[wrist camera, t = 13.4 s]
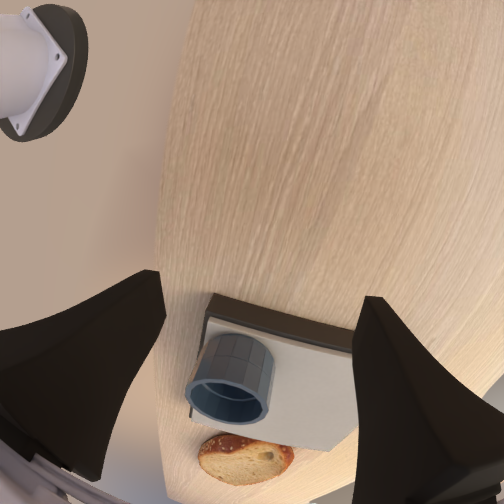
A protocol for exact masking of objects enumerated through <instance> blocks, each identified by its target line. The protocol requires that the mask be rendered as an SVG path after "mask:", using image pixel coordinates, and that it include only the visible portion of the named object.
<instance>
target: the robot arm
mask: <svg viewBox="0 0 504 504" xmlns="http://www.w3.org/2000/svg"><path fill="white" fill-rule="evenodd" d="M59 55H60V56H59ZM58 57H59V59H58ZM67 60H68V57H67V55H66V54H65V52H64V51H63V50H62V49H61V47H60V46H59V45H58V43H57V42H56V41H55V39H54V38H53V37H52V35H51V34H50V33H49V31H48V30H47V29H46V27H45V26H44V25H43V23H42V22H41V21H40V19H39V18H38V17H37V15H36V14H35V12H34V11H33V10H32V8H31V7H25V8H24V9H23V11H22V12H21V14H20V15H10V14H0V119H2V118H6V117H8V118H9V120H10V122H11V124H12V125H13V127H14V129H15V130H16V132H17V134H18V135H19V136H22V135H24V134H25V132H26V130H27V128H28V126H29V124H30V122H31V121H32V119H33V117H34V115H35V113H36V111H37V109H38V108H39V106H40V104H41V102H42V101H43V99H44V97H45V96H46V94H47V92H48V91H49V89H50V87H51V86H52V84H53V83H54V81H55V80H56V78H57V77H58V75H59V74H60V72H61V71H62V69H63V68H64V66H65V65H66V63H67ZM166 316H167V315H166V310H165V304H164V298H163V292H162V286H161V280H160V273H159V272H158V271H152V270H143V271H140V272H138V273H136V274H134V275H132V276H130V277H128V278H126V279H125V280H123V281H121V282H119V283H117V284H115V285H114V286H112V287H110V288H108V289H106V290H104V291H103V292H101V293H99V294H97V295H95V296H93V297H91V298H89V299H87V300H85V301H83V302H81V303H80V304H78V305H76V306H73V307H71V308H69V309H67V310H65V311H63V312H60V313H57V314H55V315H52V316H50V317H47V318H44V319H41V320H38V321H35V322H32V323H29V324H26V325H22V326H19V327H15V328H10V329H6V330H1V331H0V504H71V503H70V502H69V501H68V498H67V495H66V493H67V494H69V495H71V496H72V497H74V498H76V499H77V500H79V501H81V502H83V503H85V504H130V503H128V502H125V501H123V500H121V499H118V498H116V497H114V496H112V495H109V494H107V493H105V492H103V491H101V490H99V489H97V488H95V487H93V486H91V485H89V484H87V483H85V482H83V481H81V480H80V479H78V478H76V477H74V476H72V475H71V474H69V473H67V472H65V471H64V470H62V469H61V468H64V469H66V470H68V471H69V472H74V473H76V474H77V475H79V476H81V477H83V478H85V479H87V480H89V481H91V482H95V481H98V480H100V479H101V474H102V469H103V464H104V459H105V455H106V451H107V447H108V444H109V440H110V437H111V433H112V430H113V427H114V424H115V422H116V419H117V416H118V413H119V410H120V408H121V405H122V403H123V401H124V398H125V396H126V393H127V391H128V389H129V387H130V385H131V383H132V381H133V379H134V378H135V376H136V374H137V373H138V371H139V369H140V367H141V366H142V364H143V362H144V361H145V359H146V357H147V355H148V354H149V352H150V350H151V348H152V347H153V345H154V343H155V342H156V340H157V338H158V336H159V333H160V331H161V329H162V326H163V324H164V321H165V319H166ZM352 368H353V376H354V384H355V392H356V401H357V410H358V422H359V439H358V457H357V469H356V478H355V486H354V493H353V500H352V504H504V499H502V500H500V501H498V502H497V501H496V495H497V494H499V493H500V492H501V485H500V482H501V481H503V480H504V414H503V413H502V412H500V411H498V410H497V409H496V408H494V407H493V406H491V405H490V404H488V403H486V402H485V401H484V400H482V399H481V398H480V397H478V396H477V395H475V394H474V393H473V392H472V391H470V390H469V389H468V388H467V387H465V386H464V385H463V384H462V383H461V382H459V381H458V380H457V379H456V378H455V377H454V376H453V375H452V374H450V373H449V372H448V371H447V370H446V369H445V368H444V367H443V366H442V365H441V364H440V363H439V362H438V361H437V360H436V359H435V358H434V357H433V356H432V355H431V354H430V353H429V352H428V350H427V349H426V348H425V347H424V346H423V345H422V344H421V343H420V342H419V340H418V339H417V338H416V337H415V336H414V335H413V333H412V332H411V331H410V330H409V329H408V327H407V326H406V325H405V324H404V323H403V321H402V320H401V319H400V318H399V316H398V315H397V314H396V313H395V312H394V310H393V309H392V308H391V307H390V305H389V304H388V303H387V302H386V301H385V300H384V299H383V297H375V296H365V299H364V303H363V306H362V309H361V313H360V316H359V319H358V323H357V326H356V329H355V332H354V335H353V338H352Z"/></svg>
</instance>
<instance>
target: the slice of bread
mask: <svg viewBox="0 0 504 504" xmlns="http://www.w3.org/2000/svg"><path fill="white" fill-rule="evenodd" d="M293 459H294V453H293V450H292V449H291V447H290V446H286V445H281V444H276V443H271V442H266V441H261V440H257V439H253V438H248V437H244V436H240V435H221V436H217V437H214V438H213V439H210V440H208V441H207V442H205V443H204V444H203V445H202V446H201V449H200V450H199V453H198V460H199V461H200V462H199V464H200V466H201V468H202V469H203V470H204V471H206V473H207V474H209V475H211V476H212V477H214V478H216V479H218V480H220V481H222V482H225V483H227V484H231V485H234V486H242V485H248V484H249V485H252V484H256V483H260V482H263V481H267V480H268V479H272V478H274V477H276V476H280V475H281V474H282V473H283V472H285V470H286V469H287V468H288V467H289V465H290V464H291V463H292V461H293Z"/></svg>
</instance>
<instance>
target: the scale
mask: <svg viewBox="0 0 504 504" xmlns="http://www.w3.org/2000/svg"><path fill="white" fill-rule="evenodd" d="M230 333H234V334H242V335H246V336H249V337H252V338H254V339H256V340H258V341H260V342H261V343H262V344H264V345H265V346H266V347H267V348H268V350H269V351H270V353H271V355H272V356H273V358H274V361H275V366H276V370H275V376H274V382H273V388H272V394H271V400H270V406H269V411H268V413H267V415H266V417H265V418H264V419H263V420H261V421H259V422H257V423H254V424H248V425H231V424H225V423H221V422H218V421H214V420H212V419H210V418H208V417H206V416H204V415H202V414H200V413H199V412H197V411H196V410H195V409H194V408H193V407H192V406H190V413H189V417H190V418H191V421H192V422H195V423H198V424H201V425H204V426H208V427H211V428H214V429H218V430H221V431H225V432H229V433H232V434H236V435H240V436H244V437H248V438H253V439H257V440H261V441H266V442H271V443H276V444H281V445H286V446H292V447H298V448H304V449H311V450H318V451H326V452H329V451H331V450H332V449H333V448H334V447H335V446H336V445H337V444H339V443H340V442H341V441H342V440H343V439H344V438H345V437H346V436H347V435H349V434H350V433H351V432H352V431H353V430H354V429H355V428H356V427H357V426H358V425H359V422H358V410H357V401H356V392H355V384H354V376H353V368H352V338H353V335H354V331H350V330H346V329H342V328H338V327H334V326H330V325H326V324H322V323H318V322H314V321H311V320H307V319H303V318H299V317H295V316H292V315H288V314H284V313H281V312H277V311H274V310H270V309H266V308H263V307H259V306H256V305H252V304H249V303H245V302H242V301H239V300H235V299H232V298H229V297H225V296H222V295H219V294H215V293H214V294H213V296H212V298H211V300H210V302H209V304H208V306H207V309H206V311H205V317H204V323H203V329H202V335H201V341H200V347H199V351H198V356H197V359H198V357H199V355H200V352H201V350H202V348H203V346H204V345H205V344H206V343H207V342H208V341H209V340H210V339H213V338H215V337H217V336H219V335H222V334H230Z"/></svg>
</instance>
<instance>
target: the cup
mask: <svg viewBox="0 0 504 504" xmlns="http://www.w3.org/2000/svg"><path fill="white" fill-rule="evenodd" d="M275 370H276V366H275V361H274V358H273V356H272V355H271V353H270V351H269V350H268V348H267V347H266V346H265V345H264V344H262V343H261V342H260V341H258V340H256V339H254V338H252V337H249V336H246V335H242V334H234V333H230V334H222V335H219V336H217V337H215V338H213V339H210V340H209V341H208V342H207V343H206V344H205V345H204V346H203V348H202V350H201V352H200V355H199V357H198V359H197V362H196V364H195V367H194V369H193V371H192V374H191V376H190V378H189V381H188V383H187V386H186V389H185V397H186V399H187V401H188V403H189V404H190V406H192V407H193V408H194V409H195V410H196V411H197V412H199V413H200V414H202V415H204V416H206V417H208V418H210V419H212V420H214V421H218V422H221V423H225V424H231V425H248V424H254V423H257V422H259V421H261V420H263V419H264V418H265V417H266V415H267V413H268V411H269V406H270V400H271V394H272V388H273V382H274V376H275Z"/></svg>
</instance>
